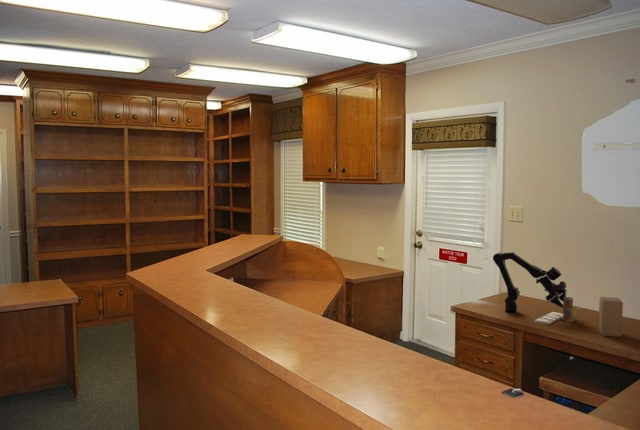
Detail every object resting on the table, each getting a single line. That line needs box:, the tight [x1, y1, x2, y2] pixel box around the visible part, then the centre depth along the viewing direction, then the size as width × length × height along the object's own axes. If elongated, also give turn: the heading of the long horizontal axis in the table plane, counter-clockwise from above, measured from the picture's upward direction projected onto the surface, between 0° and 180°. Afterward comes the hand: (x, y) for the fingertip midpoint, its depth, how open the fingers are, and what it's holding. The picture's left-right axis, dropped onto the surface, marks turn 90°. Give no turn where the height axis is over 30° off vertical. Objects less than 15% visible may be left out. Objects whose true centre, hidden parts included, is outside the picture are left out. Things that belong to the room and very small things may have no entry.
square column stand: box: [559, 296, 577, 324], centre depth 316 cm, size 7×7×14 cm
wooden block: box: [598, 296, 624, 338], centre depth 288 cm, size 10×10×20 cm
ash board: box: [534, 311, 563, 326], centre depth 319 cm, size 26×8×1 cm, turn 134°
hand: (565, 305), depth 316 cm, fingers open, 9 cm apart
